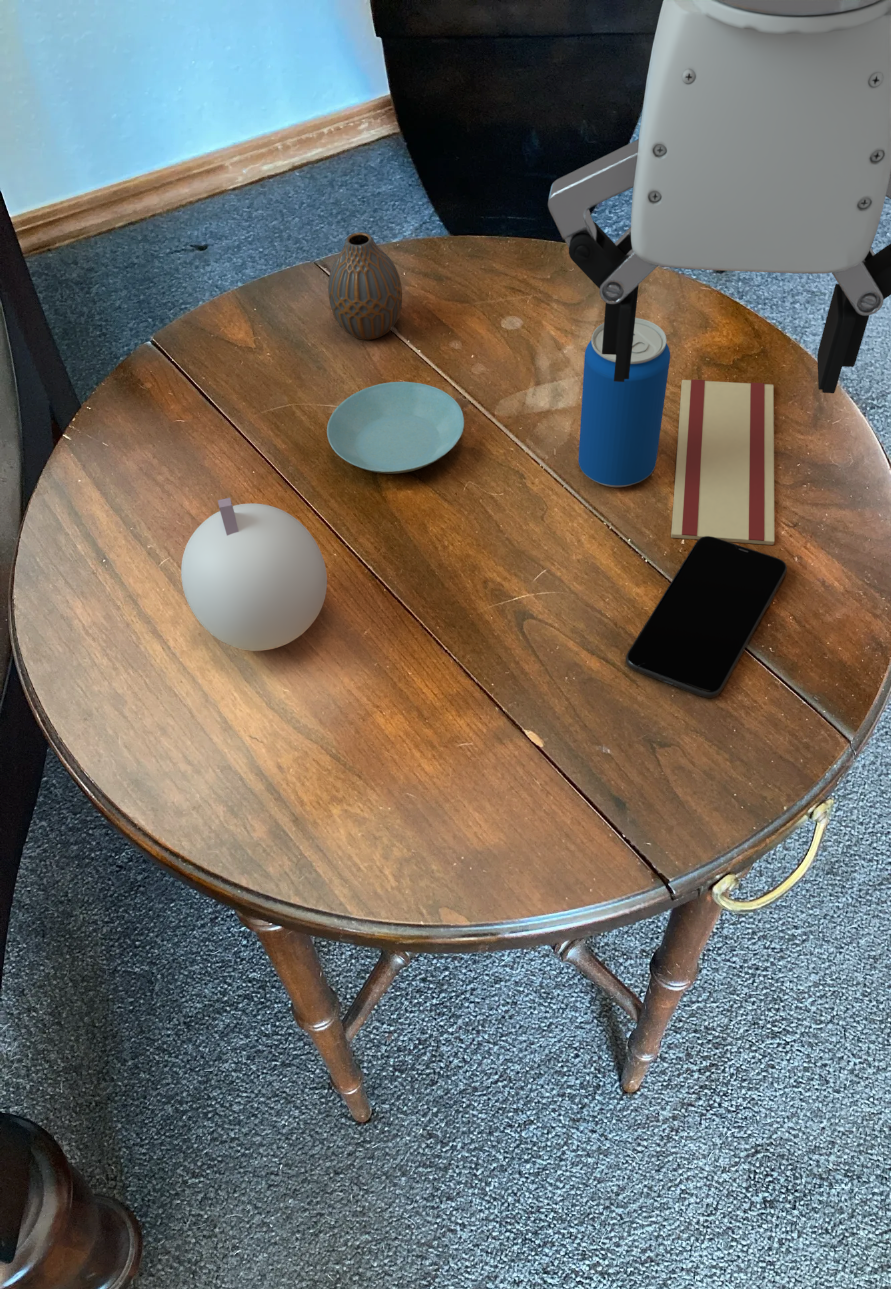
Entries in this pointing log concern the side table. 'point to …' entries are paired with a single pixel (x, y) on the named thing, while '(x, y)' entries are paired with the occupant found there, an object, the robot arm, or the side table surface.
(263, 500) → the side table surface
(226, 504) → the ornament
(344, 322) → the vase
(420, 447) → the saucer
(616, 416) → the beverage can
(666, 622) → the smartphone
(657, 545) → the side table surface
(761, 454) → the tea towel
